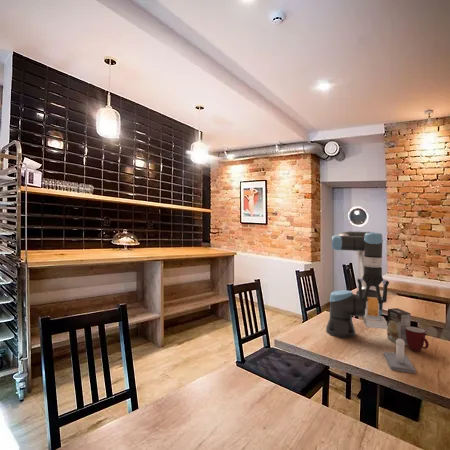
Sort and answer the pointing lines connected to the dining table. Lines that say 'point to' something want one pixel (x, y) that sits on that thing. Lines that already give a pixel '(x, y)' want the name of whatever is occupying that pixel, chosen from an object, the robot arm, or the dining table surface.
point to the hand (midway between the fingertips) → (372, 316)
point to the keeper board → (399, 366)
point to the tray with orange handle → (374, 315)
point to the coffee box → (397, 324)
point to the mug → (416, 338)
